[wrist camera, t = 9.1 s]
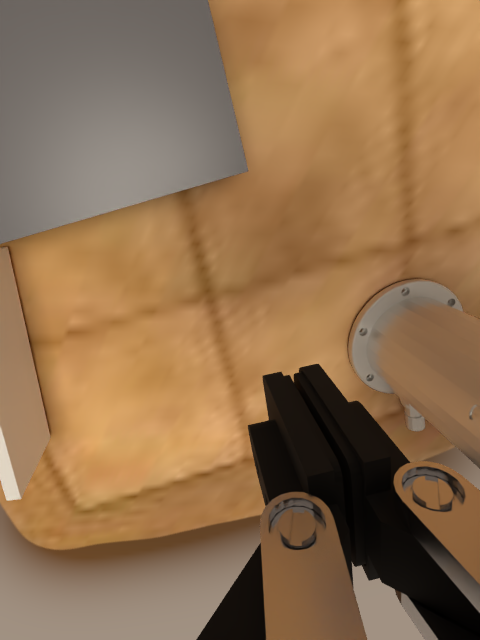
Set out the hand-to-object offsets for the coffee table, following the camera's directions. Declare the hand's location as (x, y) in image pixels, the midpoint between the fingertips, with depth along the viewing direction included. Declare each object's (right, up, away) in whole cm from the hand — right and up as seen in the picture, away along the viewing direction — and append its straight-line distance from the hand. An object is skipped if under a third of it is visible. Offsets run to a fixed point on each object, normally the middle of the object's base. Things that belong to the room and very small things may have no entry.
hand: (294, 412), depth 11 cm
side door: (-20, 0, +20) cm, 28 cm away
